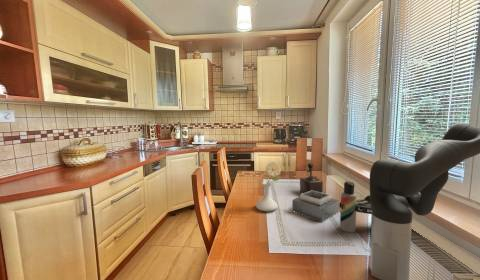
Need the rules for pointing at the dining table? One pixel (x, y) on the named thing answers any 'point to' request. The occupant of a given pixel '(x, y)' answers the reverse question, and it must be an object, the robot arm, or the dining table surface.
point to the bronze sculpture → (310, 182)
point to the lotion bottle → (348, 208)
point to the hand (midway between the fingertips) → (341, 206)
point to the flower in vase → (266, 201)
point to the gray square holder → (316, 205)
